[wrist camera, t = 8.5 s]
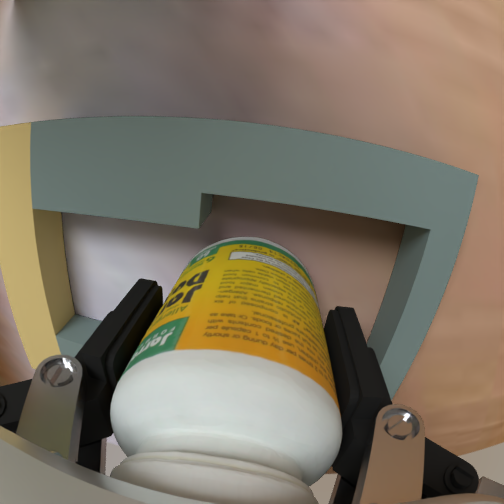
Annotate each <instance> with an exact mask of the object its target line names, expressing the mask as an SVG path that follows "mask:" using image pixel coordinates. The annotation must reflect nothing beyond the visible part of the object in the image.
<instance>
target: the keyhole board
mask: <svg viewBox="0 0 504 504" xmlns="http://www.w3.org/2000/svg"><path fill="white" fill-rule="evenodd" d="M478 176H479V175H477V174H474V173H471V172H468V171H465V170H462V169H460V168H457V167H454V166H451V165H447V164H444V163H441V162H438V161H435V160H432V159H428V158H425V157H421V156H418V155H414V154H411V153H407V152H404V151H400V150H396V149H392V148H388V147H384V146H380V145H376V144H372V143H367V142H363V141H359V140H354V139H349V138H344V137H340V136H334V135H329V134H324V133H318V132H313V131H307V130H301V129H294V128H288V127H281V126H274V125H266V124H258V123H249V122H240V121H230V120H218V119H205V118H188V117H162V116H111V117H86V118H70V119H58V120H47V121H38V122H29V123H22V124H14V125H8V126H1V127H0V265H1V270H2V274H3V279H4V283H5V287H6V291H7V295H8V299H9V302H10V306H11V309H12V313H13V316H14V319H15V322H16V325H17V329H18V332H19V335H20V337H21V340H22V343H23V346H24V349H25V351H26V354H27V357H28V359H29V362H30V364H31V367H32V368H34V369H36V368H37V367H38V365H39V364H40V363H41V362H42V361H43V360H44V359H46V358H48V357H50V356H54V355H69V356H72V357H75V356H76V355H77V353H78V352H79V351H80V349H81V348H82V347H83V345H84V344H85V343H86V341H87V340H88V339H89V338H90V336H91V335H92V334H93V332H94V331H95V330H96V329H97V327H98V326H99V325H100V323H101V322H102V321H99V320H95V319H91V318H87V317H84V316H80V315H76V314H75V311H74V306H73V301H72V296H71V290H70V284H69V278H68V271H67V264H66V256H65V248H64V239H63V228H62V215H61V212H67V213H75V214H84V215H93V216H101V217H109V218H118V219H126V220H134V221H142V222H150V223H158V224H166V225H174V226H182V227H189V228H197V229H199V228H200V226H201V225H202V224H203V222H204V221H205V220H206V218H207V217H208V216H209V214H210V213H211V208H212V197H213V194H216V195H224V196H232V197H240V198H248V199H255V200H263V201H270V202H277V203H284V204H291V205H297V206H304V207H310V208H317V209H323V210H329V211H335V212H341V213H347V214H352V215H358V216H364V217H369V218H375V219H380V220H385V221H391V222H396V223H401V224H406V226H405V230H404V234H403V237H402V241H401V244H400V248H399V251H398V255H397V258H396V262H395V265H394V268H393V271H392V275H391V278H390V281H389V284H388V287H387V290H386V293H385V296H384V299H383V302H382V305H381V307H380V310H379V313H378V316H377V318H376V321H375V324H374V326H373V329H372V332H371V334H370V337H369V339H368V342H367V347H371V348H373V350H374V352H375V354H376V357H377V360H378V363H379V366H380V368H381V371H382V374H383V377H384V380H385V383H386V386H387V389H388V392H389V395H390V398H391V400H392V398H393V397H394V395H395V393H396V391H397V390H398V388H399V386H400V384H401V383H402V381H403V379H404V377H405V375H406V374H407V372H408V370H409V368H410V366H411V364H412V362H413V360H414V358H415V356H416V354H417V352H418V350H419V348H420V346H421V344H422V342H423V340H424V338H425V336H426V334H427V332H428V329H429V327H430V325H431V323H432V320H433V318H434V316H435V314H436V311H437V309H438V306H439V304H440V302H441V299H442V297H443V294H444V291H445V289H446V286H447V284H448V281H449V278H450V275H451V273H452V270H453V267H454V264H455V261H456V258H457V255H458V252H459V249H460V246H461V243H462V239H463V236H464V233H465V229H466V226H467V222H468V218H469V215H470V211H471V207H472V203H473V199H474V194H475V190H476V185H477V181H478Z"/></svg>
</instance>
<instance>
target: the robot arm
mask: <svg viewBox="0 0 504 504" xmlns="http://www.w3.org/2000/svg"><path fill="white" fill-rule="evenodd" d="M162 306H163V293H162V287H161V286H158V284H157V282H156V281H152V280H147V279H139V280H138V281H137V282H136V284H135V285H134V286H133V287H132V289H131V290H130V291H129V292H128V293H127V295H126V296H125V297H124V298H123V300H122V301H121V302H120V303H119V305H118V306H117V307H116V308H115V310H114V311H111V312H110V313H109V314H108V315H107V316H106V317H105V318H104V320H103V321H102V322H101V323H100V325H99V326H98V327H97V329H96V330H95V331H94V332H93V334H92V335H91V336H90V338H89V339H88V340H87V341H86V343H85V344H84V345H83V347H82V348H81V349H80V351H79V352H78V353H77V355H76V356H75V357H72V356H69V355H54V356H50V357H48V358H46V359H44V360H43V361H42V362H41V363H40V364H39V365H38V367H37V368H36V371H35V373H34V376H33V379H30V380H26V381H22V382H18V383H14V384H10V385H5V386H1V387H0V504H215V503H209V502H203V501H198V500H193V499H188V498H183V497H178V496H174V495H170V494H166V493H162V492H158V491H154V490H150V489H147V488H143V487H140V486H136V485H133V484H130V483H127V482H123V481H120V480H117V479H115V478H112V477H109V476H106V475H105V464H106V441H107V437H109V436H112V433H114V432H113V429H112V424H111V418H110V408H111V402H112V397H113V394H114V391H115V389H116V386H117V383H118V381H119V379H120V378H121V376H122V374H123V373H124V371H125V369H126V367H127V365H128V364H129V362H130V360H131V358H132V356H133V355H134V353H135V351H136V350H137V348H138V346H139V345H140V343H141V341H142V339H143V337H144V336H145V334H146V332H147V330H148V329H149V327H150V326H151V324H152V322H153V320H154V319H155V317H156V315H157V314H158V312H159V310H160V309H161V308H162ZM324 334H325V338H326V343H327V347H328V353H329V357H330V362H331V368H332V373H333V378H334V382H335V388H336V394H337V399H338V404H339V409H340V414H341V422H342V441H341V445H340V449H339V452H338V455H337V457H336V459H335V461H334V462H333V464H332V465H331V466H333V470H334V471H335V472H336V473H338V475H337V479H336V482H335V485H334V489H333V492H332V495H331V498H330V501H329V504H504V485H502V484H499V483H497V482H495V481H492V480H490V479H488V478H486V477H482V478H480V479H479V478H478V475H477V472H476V470H475V469H474V467H473V466H472V465H471V464H469V463H468V462H466V461H465V460H463V459H461V458H459V457H458V456H456V455H454V454H453V453H451V452H449V451H447V450H446V449H444V448H442V447H441V446H439V445H437V444H436V443H434V442H432V441H431V440H429V439H427V438H426V437H425V426H424V422H423V420H422V418H421V416H420V415H419V414H418V413H417V412H416V411H415V410H413V409H412V408H410V407H408V406H405V405H400V404H392V401H391V398H390V395H389V392H388V389H387V386H386V383H385V380H384V377H383V374H382V371H381V368H380V366H379V363H378V360H377V357H376V354H375V352H374V350H373V348H371V347H367V344H366V341H365V338H364V335H363V332H362V330H361V327H360V324H359V321H358V318H357V316H356V313H355V310H354V308H350V307H340V306H337V307H336V308H335V310H330V311H329V313H328V317H327V320H326V324H325V327H324Z"/></svg>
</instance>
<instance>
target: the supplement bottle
mask: <svg viewBox="0 0 504 504" xmlns="http://www.w3.org/2000/svg"><path fill="white" fill-rule="evenodd" d="M110 418H111V424H112V429H113V432H114V435H115V438H116V440H117V442H118V444H119V446H120V447H121V449H122V450H123V452H124V453H125V454H126V456H127V458H126V459H124V460H123V461H122V462H121V463H120V465H118V466H116V467H115V468H114V469H113V470H112V472H111V475H110V477H112V478H115V479H117V480H120V481H123V482H127V483H130V484H133V485H136V486H140V487H143V488H147V489H150V490H154V491H158V492H162V493H166V494H170V495H174V496H178V497H183V498H188V499H193V500H198V501H203V502H209V503H215V504H318V501H317V500H316V498H315V497H314V495H313V493H312V490H311V489H310V488H309V486H311V485H312V484H313V483H315V482H316V481H318V480H319V479H320V478H321V477H322V476H323V475H324V474H325V473H326V472H327V471H328V470H329V468H330V467H331V465H332V464H333V462H334V461H335V459H336V457H337V455H338V452H339V449H340V445H341V441H342V422H341V414H340V409H339V404H338V399H337V394H336V388H335V382H334V378H333V373H332V368H331V362H330V357H329V353H328V347H327V343H326V338H325V334H324V329H323V325H322V320H321V315H320V311H319V306H318V302H317V297H316V293H315V290H314V285H313V282H312V279H311V277H310V275H309V273H308V271H307V270H306V268H305V266H304V265H303V264H302V262H301V261H300V260H299V259H298V258H297V257H296V256H295V255H294V254H292V253H291V252H290V251H289V250H287V249H286V248H284V247H282V246H281V245H279V244H276V243H274V242H271V241H269V240H266V239H263V238H258V237H235V238H230V239H224V240H221V241H219V242H216V243H213V244H211V245H209V246H207V247H205V248H204V249H202V250H201V251H200V252H198V253H197V254H196V255H195V256H194V257H193V258H192V259H191V261H190V262H189V263H188V265H187V266H186V268H185V269H184V270H183V272H182V274H181V276H180V277H179V279H178V281H177V282H176V284H175V286H174V287H173V289H172V290H171V292H170V294H169V295H168V297H167V298H166V300H165V302H164V304H163V306H162V308H161V309H160V310H159V312H158V314H157V315H156V317H155V319H154V320H153V322H152V324H151V326H150V327H149V329H148V330H147V332H146V334H145V336H144V337H143V339H142V341H141V343H140V345H139V346H138V348H137V350H136V351H135V353H134V355H133V356H132V358H131V360H130V362H129V364H128V365H127V367H126V369H125V371H124V373H123V374H122V376H121V378H120V379H119V381H118V383H117V386H116V389H115V391H114V394H113V397H112V402H111V408H110Z"/></svg>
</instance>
